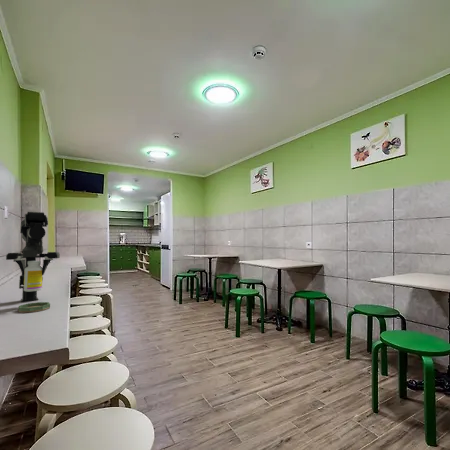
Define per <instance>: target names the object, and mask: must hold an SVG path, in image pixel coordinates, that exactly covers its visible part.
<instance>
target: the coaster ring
mask: <svg viewBox="0 0 450 450" xmlns="http://www.w3.org/2000/svg"><path fill="white" fill-rule="evenodd" d="M50 308H51V303H50V302H48V301H47V302H46V301H39V302H30V303H29V302H28V303H24V304H21V305H18V309H17V312H18V313H20V314H21V313H23V314H24V313H25V314H27V313H36V312H42V311H47V310H49V309H50Z"/></svg>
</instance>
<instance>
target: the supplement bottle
mask: <svg viewBox="0 0 450 450" xmlns="http://www.w3.org/2000/svg"><path fill="white" fill-rule="evenodd" d="M27 264H28V267H26V268H25V270H24V285H23V286H24V291H27V292H30V291H37V292H38V291H41V290H42V289H43V281H42V277H43V275H42V268H43V266H41V260H36V261H28V263H27Z"/></svg>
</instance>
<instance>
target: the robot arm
mask: <svg viewBox="0 0 450 450" xmlns="http://www.w3.org/2000/svg"><path fill="white" fill-rule="evenodd" d="M48 225H49V220H48V217H47V215H46V214H45V212H43V211H41V212H39V211H27V212H26V213H25V214H24V219H23V220H21V221H20V228H19V229H20V230H19V232H20V234H21V238H22V240H23V241H24V242H25V246H24V247H23V249H22V252H8V253H6V255H5V259H6V260H7V261H8V260H11V261H12V260H13V262H15V263H17V265H18V267H19V269H20V272H21V275H19V280H18V281H19V282H18V289H21V290H22V294H21V296H22V298H20V301H21V303H22V302H23V303H24V302H25V303H26V302H32V301H38V300H39V298H38V291H30V292H27V291H24V270H25V268H26V267H28V264H27V263H28V261H37V260H36V259H37V258H39V259H41V258H44V259H43V260H42V261H43V262H42V282H43V279H44V277H43V276H44V275H45V272H46V270H47V268H48V265H50V262H51V261H54V259H59V258H60V252H59V251H50V252H49V251H48V252H47V253H43V252H44V246H43V244H44V243H43V238H44V237H45V235H46V230H45V227H46V228H47V227H48Z"/></svg>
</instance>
